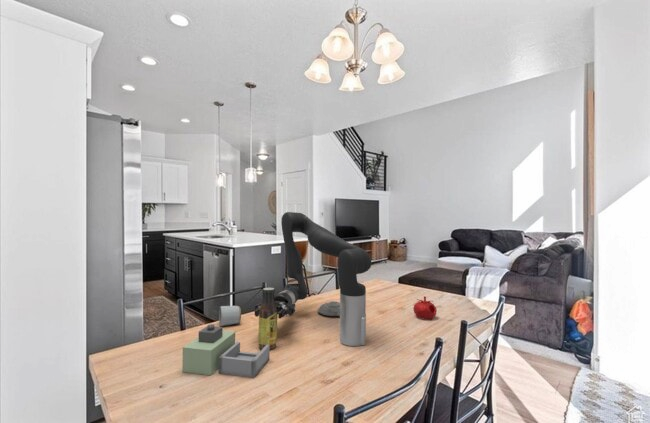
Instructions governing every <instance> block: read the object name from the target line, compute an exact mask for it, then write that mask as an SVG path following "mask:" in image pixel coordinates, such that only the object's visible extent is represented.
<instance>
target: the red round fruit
mask: <svg viewBox="0 0 650 423" xmlns="http://www.w3.org/2000/svg"><path fill="white" fill-rule="evenodd" d="M416 300H417V302H415V303H414V305H413V307H412V308H413V310H412V311H413V312H414V314H415V316H416V317H417V318H419V319H421V320H427V321H429V320H430V321H431V320H433V319H435V318H436V315H437V312H438V311H437V307H436V306H435V304H434V301H433V300H427V296H423V300H422V299H416Z"/></svg>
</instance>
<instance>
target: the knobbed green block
mask: <svg viewBox="0 0 650 423" xmlns="http://www.w3.org/2000/svg"><path fill="white" fill-rule="evenodd" d="M223 327H224V326H215V324H213V323H211V324H208V325H207V326H205V327H204V328H202V329H201V330H199V331H198V337H197V338H195V339H194V340H192V341H190V342H189V343H187V344H186V345H184V346H183V347H182V373H188V374H196V375H205V376H211V375H213V374H214V373H215V372H217V370H218V374H220V375H230V376H238V377H247V378H256V377H257V376H258V374H259V373H260V372H261V370H262V369H263V368H264V367H265V366H266V364H267V363H268V362H269V361H270V352H271V349H270V345H266V346H265V347H264V348H263V349H261V350H260V351H259V352H250V351H249V352H248V351H241V342H240V341H237V342H236V331H233V330H232V331H230V330H223Z"/></svg>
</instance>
